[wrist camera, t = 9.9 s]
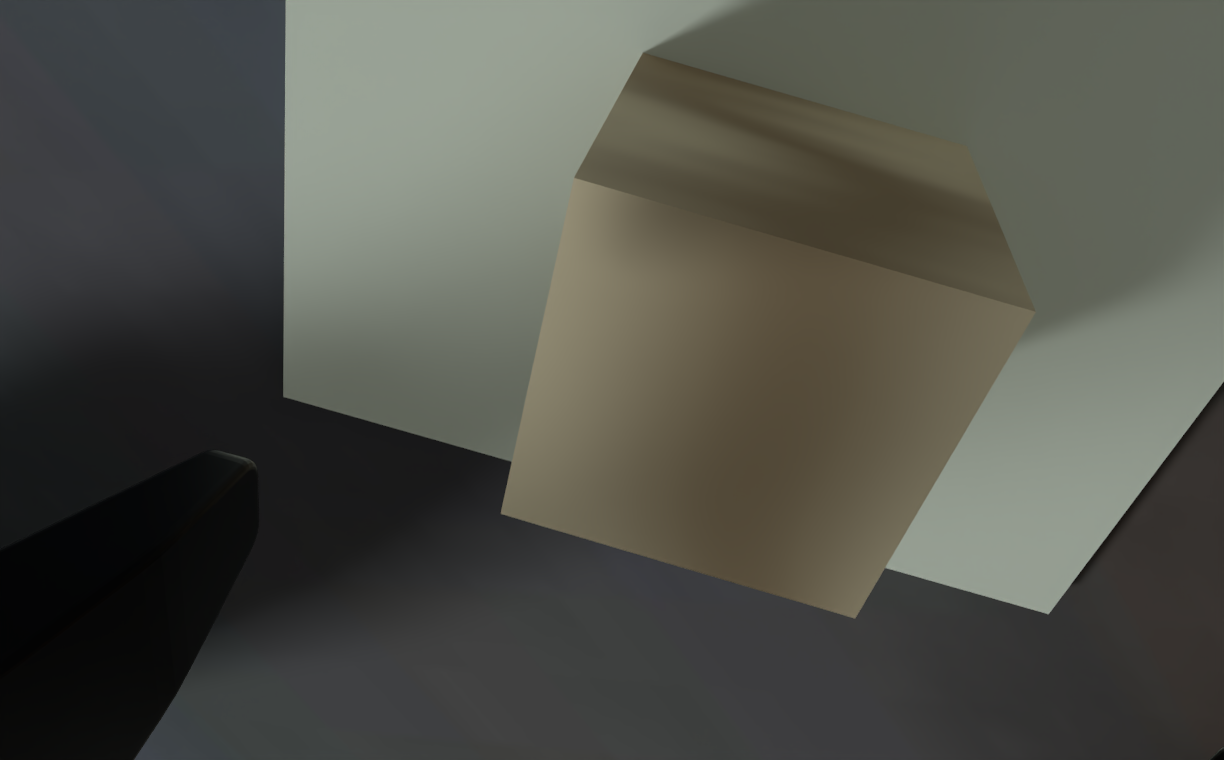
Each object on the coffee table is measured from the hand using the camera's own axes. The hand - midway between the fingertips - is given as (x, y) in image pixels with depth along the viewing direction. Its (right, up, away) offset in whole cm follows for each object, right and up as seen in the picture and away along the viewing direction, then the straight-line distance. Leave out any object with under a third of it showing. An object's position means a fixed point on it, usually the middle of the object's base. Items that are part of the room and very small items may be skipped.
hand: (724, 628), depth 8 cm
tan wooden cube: (+1, +4, +7) cm, 8 cm away
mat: (+1, +5, +7) cm, 9 cm away
